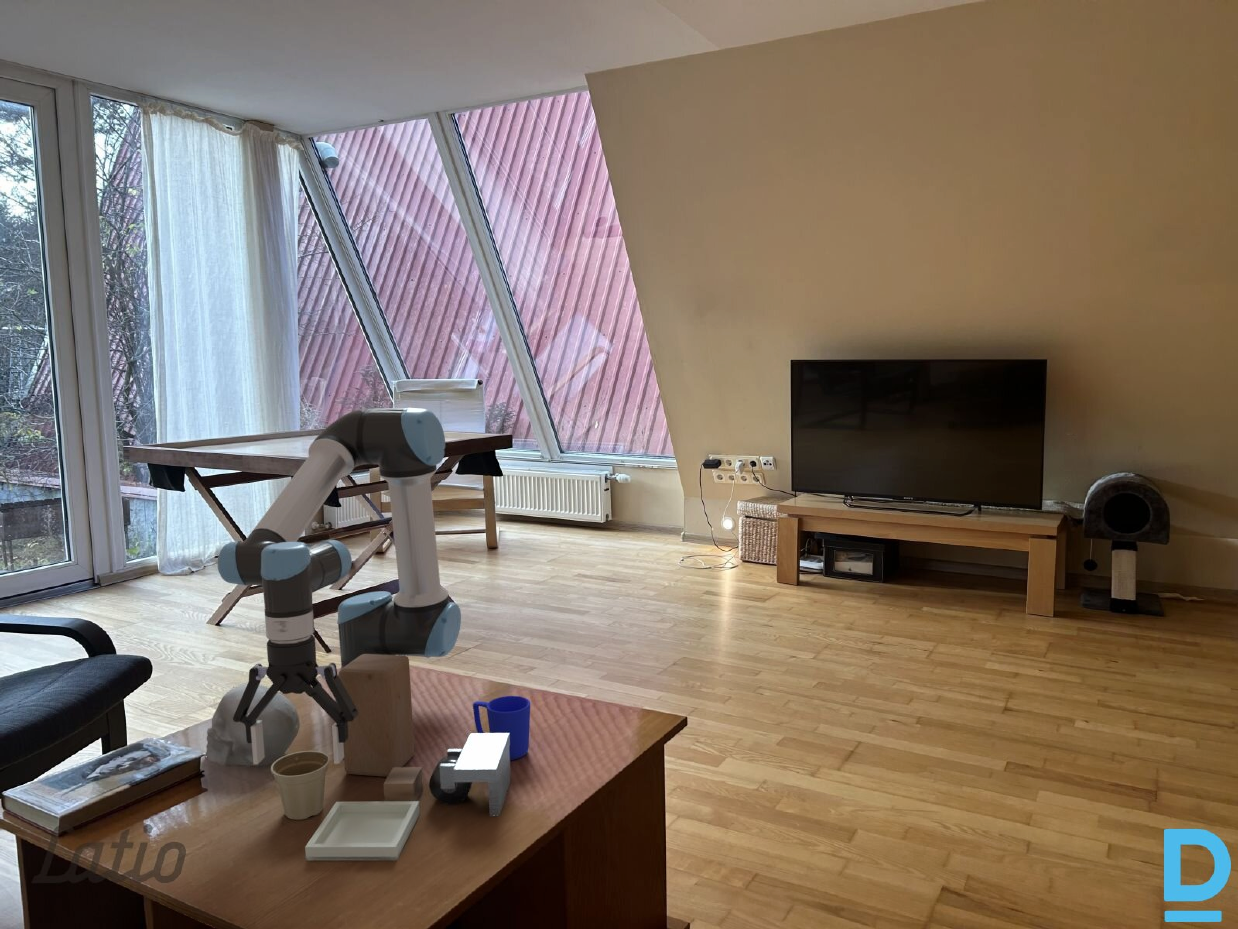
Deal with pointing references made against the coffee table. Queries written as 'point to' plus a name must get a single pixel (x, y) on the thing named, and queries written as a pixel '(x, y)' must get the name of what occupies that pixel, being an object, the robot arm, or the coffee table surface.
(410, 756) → the wooden block
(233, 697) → the skull
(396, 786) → the block
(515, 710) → the mug
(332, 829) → the tray
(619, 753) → the coffee table surface
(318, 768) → the flower pot
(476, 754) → the caster wheel
